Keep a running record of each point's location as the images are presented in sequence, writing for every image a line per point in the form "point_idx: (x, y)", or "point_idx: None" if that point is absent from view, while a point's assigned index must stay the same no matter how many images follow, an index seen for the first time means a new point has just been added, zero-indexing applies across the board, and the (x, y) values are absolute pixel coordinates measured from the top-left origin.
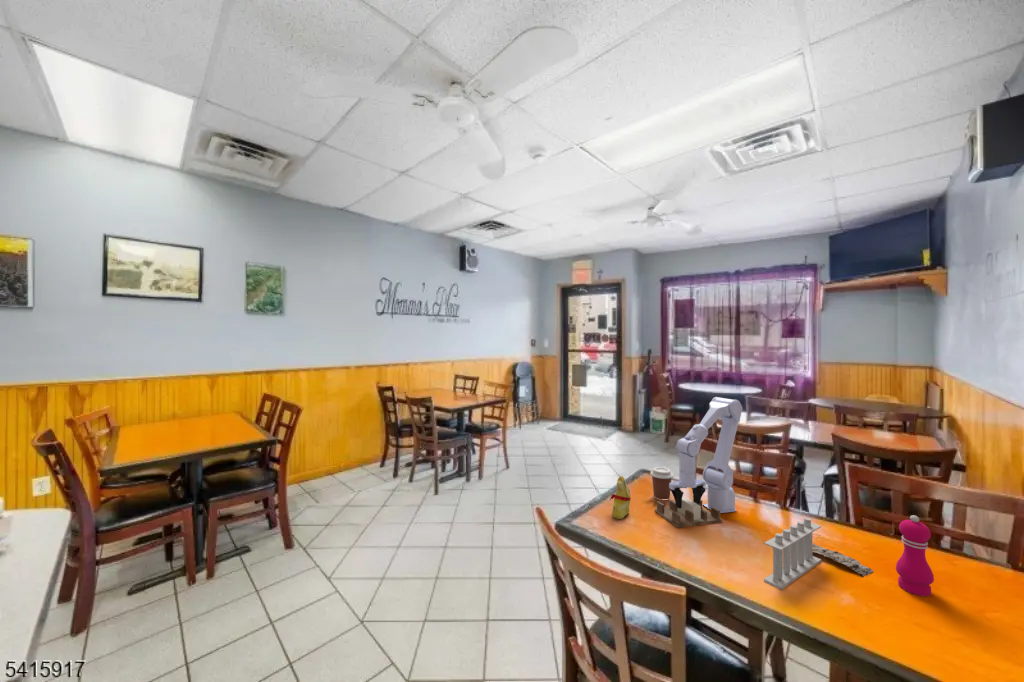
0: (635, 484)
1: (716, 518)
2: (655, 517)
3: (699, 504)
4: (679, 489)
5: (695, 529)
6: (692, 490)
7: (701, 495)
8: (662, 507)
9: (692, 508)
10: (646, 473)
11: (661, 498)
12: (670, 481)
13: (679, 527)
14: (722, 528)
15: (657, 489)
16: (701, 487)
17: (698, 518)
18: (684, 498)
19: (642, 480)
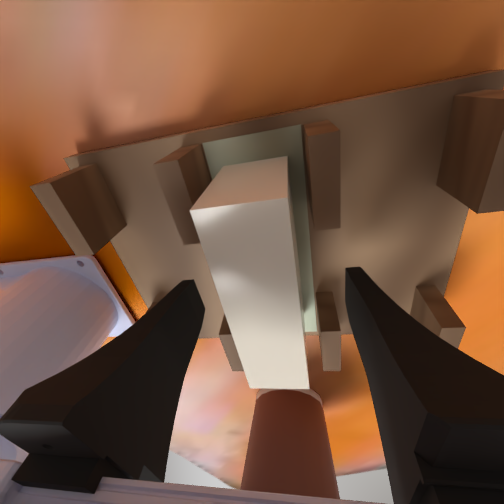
0: None
1: (102, 175)
2: (495, 258)
3: None
4: (444, 488)
5: (337, 28)
6: (173, 420)
7: (113, 346)
8: (450, 313)
9: (289, 204)
10: None
11: (306, 395)
12: None
13: (464, 76)
14: (95, 40)
15: (325, 448)
16: (48, 452)
17: (241, 165)
18: (269, 355)
19: None
